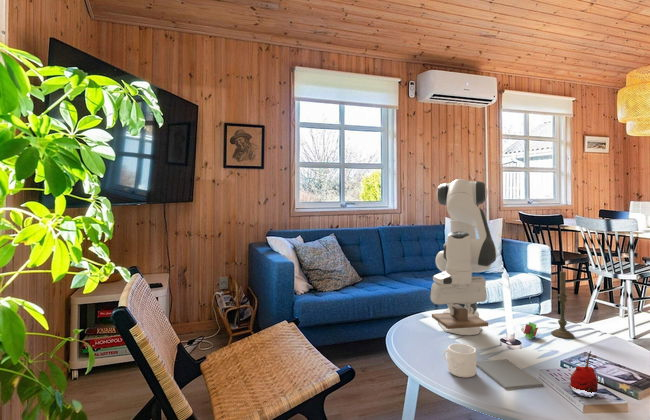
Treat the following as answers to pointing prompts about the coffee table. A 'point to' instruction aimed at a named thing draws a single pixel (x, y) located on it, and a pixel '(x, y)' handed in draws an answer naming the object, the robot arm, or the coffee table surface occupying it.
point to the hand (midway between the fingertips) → (458, 314)
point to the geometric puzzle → (529, 330)
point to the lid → (459, 319)
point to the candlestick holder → (562, 311)
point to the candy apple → (585, 378)
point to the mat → (508, 374)
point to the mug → (461, 360)
